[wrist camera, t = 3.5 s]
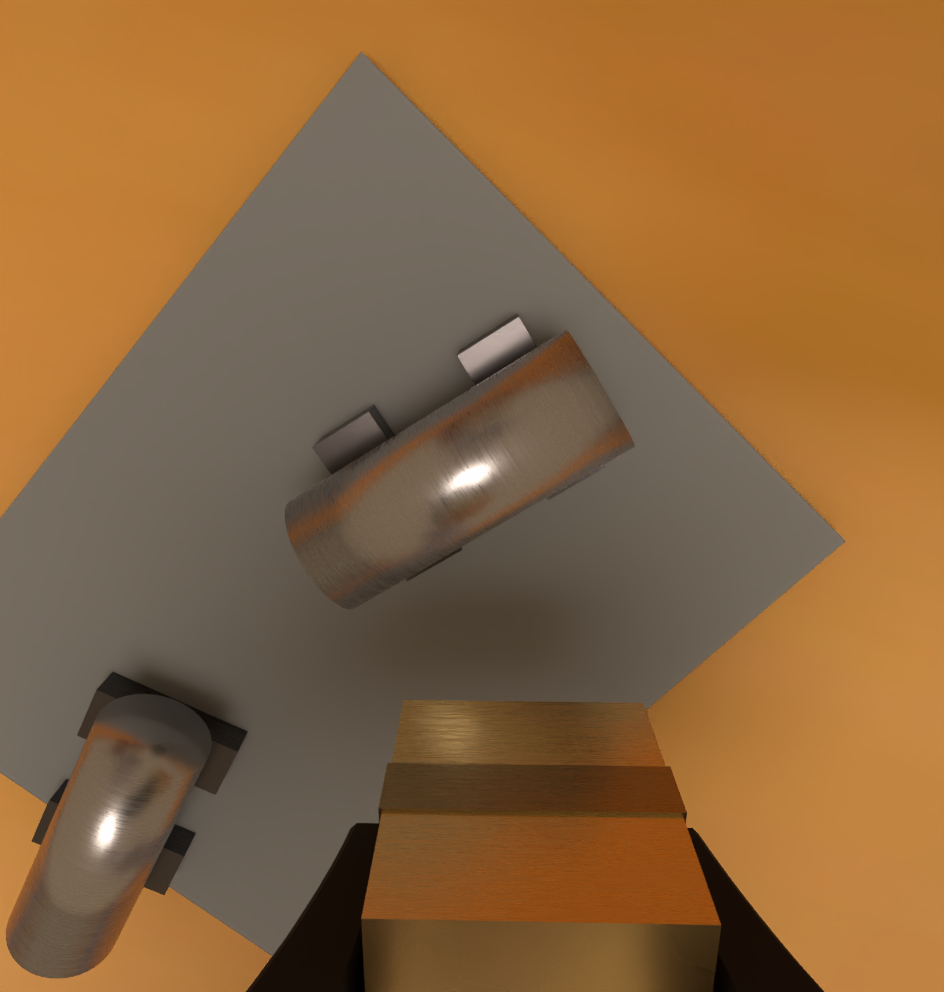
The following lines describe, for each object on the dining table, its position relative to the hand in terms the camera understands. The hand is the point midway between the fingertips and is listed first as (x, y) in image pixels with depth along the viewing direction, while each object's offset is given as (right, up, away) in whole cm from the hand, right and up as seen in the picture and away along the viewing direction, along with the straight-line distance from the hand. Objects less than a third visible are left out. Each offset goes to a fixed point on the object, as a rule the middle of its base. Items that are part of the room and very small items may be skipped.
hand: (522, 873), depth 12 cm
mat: (-4, +3, +8) cm, 10 cm away
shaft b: (-10, -2, +10) cm, 14 cm away
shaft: (-1, +8, +6) cm, 10 cm away
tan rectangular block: (0, +1, +1) cm, 1 cm away
